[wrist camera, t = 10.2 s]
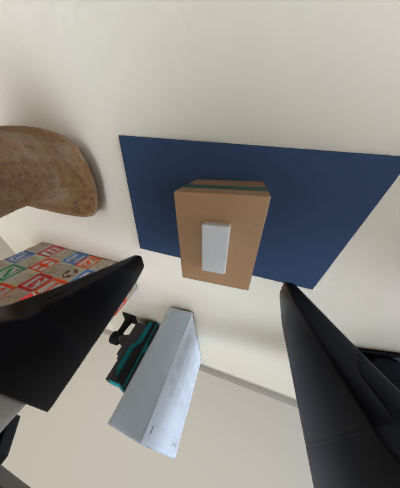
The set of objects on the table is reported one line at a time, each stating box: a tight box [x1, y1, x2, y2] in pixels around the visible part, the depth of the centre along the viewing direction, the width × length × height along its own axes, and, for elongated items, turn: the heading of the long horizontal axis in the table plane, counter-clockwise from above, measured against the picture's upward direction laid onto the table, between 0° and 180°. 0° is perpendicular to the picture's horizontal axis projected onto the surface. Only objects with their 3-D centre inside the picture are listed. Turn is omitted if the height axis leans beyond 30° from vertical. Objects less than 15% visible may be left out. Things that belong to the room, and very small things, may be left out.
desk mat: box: [119, 135, 400, 289], centre depth 16 cm, size 24×14×1 cm, turn 88°
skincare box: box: [108, 307, 201, 459], centre depth 28 cm, size 21×5×16 cm, turn 7°
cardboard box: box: [174, 179, 271, 290], centre depth 14 cm, size 6×8×6 cm
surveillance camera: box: [106, 312, 159, 393], centre depth 32 cm, size 6×12×10 cm
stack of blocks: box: [0, 243, 136, 318], centre depth 25 cm, size 21×6×12 cm, turn 88°
